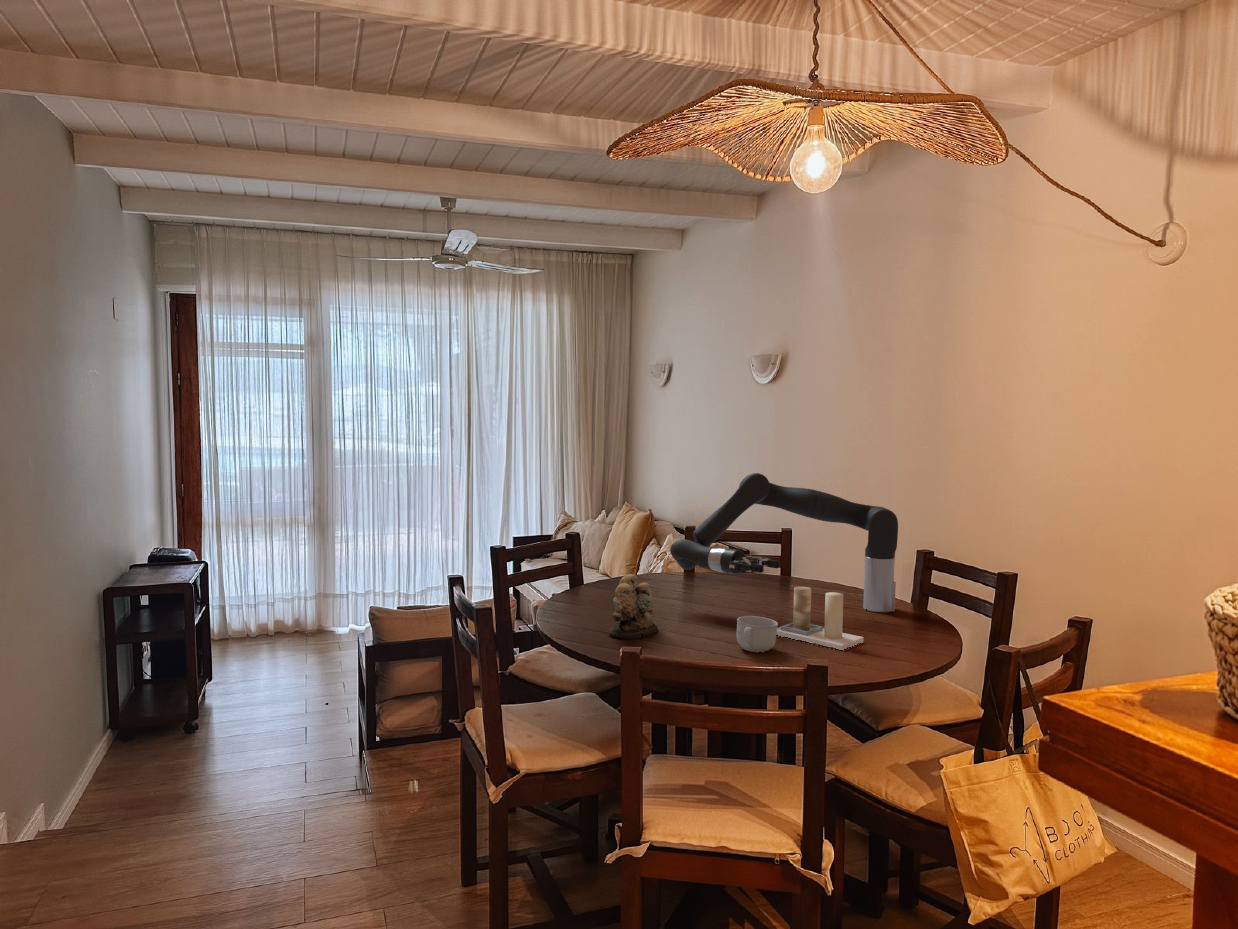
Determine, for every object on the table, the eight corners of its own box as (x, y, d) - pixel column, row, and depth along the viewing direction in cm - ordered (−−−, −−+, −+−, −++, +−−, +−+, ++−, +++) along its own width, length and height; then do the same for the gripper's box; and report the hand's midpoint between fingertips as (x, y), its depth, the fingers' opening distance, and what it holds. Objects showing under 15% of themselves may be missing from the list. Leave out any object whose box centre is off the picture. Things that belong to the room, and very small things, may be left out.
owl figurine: (632, 644, 226) (632, 582, 225) (597, 637, 232) (597, 577, 231) (666, 629, 240) (667, 571, 239) (633, 623, 247) (633, 567, 246)
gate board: (771, 634, 236) (773, 588, 235) (794, 627, 245) (795, 582, 244) (841, 651, 221) (843, 601, 220) (863, 642, 230) (864, 594, 229)
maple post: (808, 628, 239) (809, 586, 238) (811, 632, 234) (812, 590, 233) (791, 627, 239) (792, 586, 238) (794, 631, 234) (795, 590, 233)
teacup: (749, 641, 229) (750, 613, 228) (784, 649, 222) (785, 619, 222) (722, 652, 218) (722, 622, 218) (758, 660, 211) (759, 630, 211)
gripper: (712, 551, 249) (757, 557, 237) (740, 545, 259) (784, 551, 248) (712, 576, 249) (757, 583, 238) (740, 569, 259) (784, 575, 248)
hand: (771, 566), depth 243 cm, fingers open, 8 cm apart
